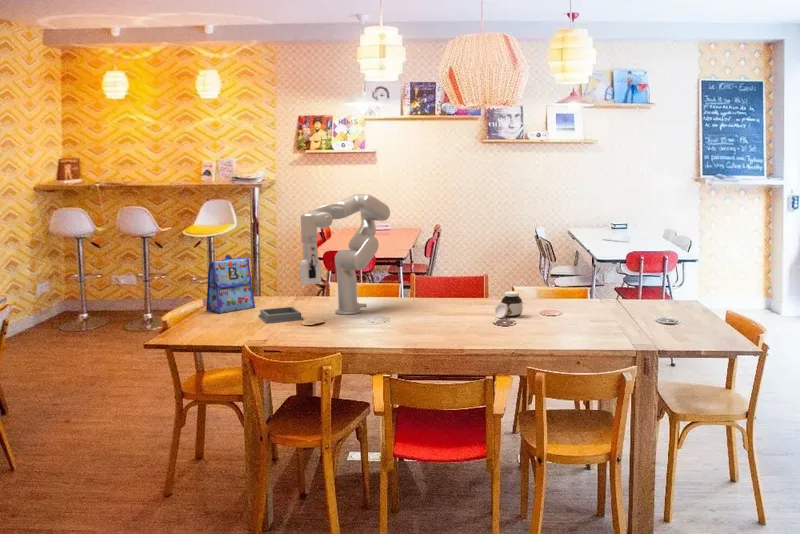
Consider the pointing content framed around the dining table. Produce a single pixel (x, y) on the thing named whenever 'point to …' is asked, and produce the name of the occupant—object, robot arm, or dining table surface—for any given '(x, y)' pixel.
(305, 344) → the dining table surface
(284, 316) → the tray
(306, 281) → the photo printer
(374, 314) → the dining table surface
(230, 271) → the lunch bag
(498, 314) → the spread jar
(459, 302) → the dining table surface
